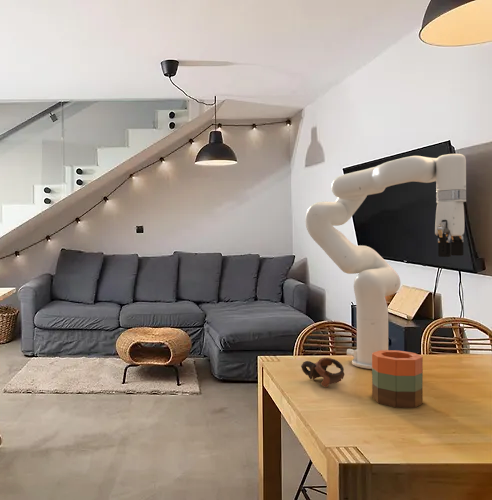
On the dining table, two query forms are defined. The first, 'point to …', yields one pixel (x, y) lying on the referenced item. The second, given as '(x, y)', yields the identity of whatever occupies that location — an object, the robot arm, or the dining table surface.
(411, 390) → the ring middle
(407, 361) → the ring top
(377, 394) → the ring bottom
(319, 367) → the brown knot
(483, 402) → the dining table surface
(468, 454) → the dining table surface
